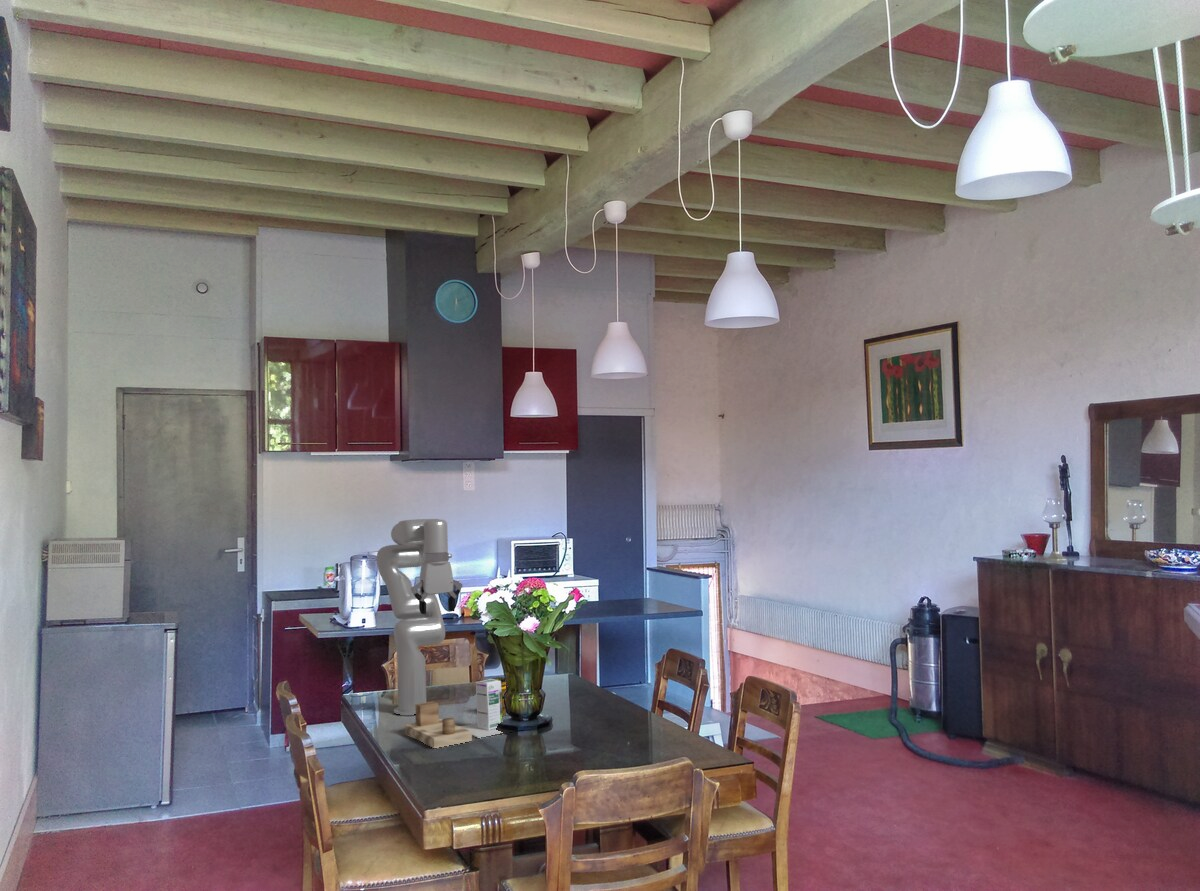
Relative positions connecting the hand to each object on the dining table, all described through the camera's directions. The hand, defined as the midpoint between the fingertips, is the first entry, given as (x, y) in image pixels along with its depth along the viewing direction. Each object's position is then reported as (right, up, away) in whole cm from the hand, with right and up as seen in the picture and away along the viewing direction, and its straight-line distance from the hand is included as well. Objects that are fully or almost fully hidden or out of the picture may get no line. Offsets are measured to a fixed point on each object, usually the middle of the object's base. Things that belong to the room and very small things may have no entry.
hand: (437, 612), depth 299 cm
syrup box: (+18, -35, -7) cm, 40 cm away
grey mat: (+18, -35, -7) cm, 40 cm away
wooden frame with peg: (+3, -35, -15) cm, 39 cm away
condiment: (+17, -37, +13) cm, 43 cm away
